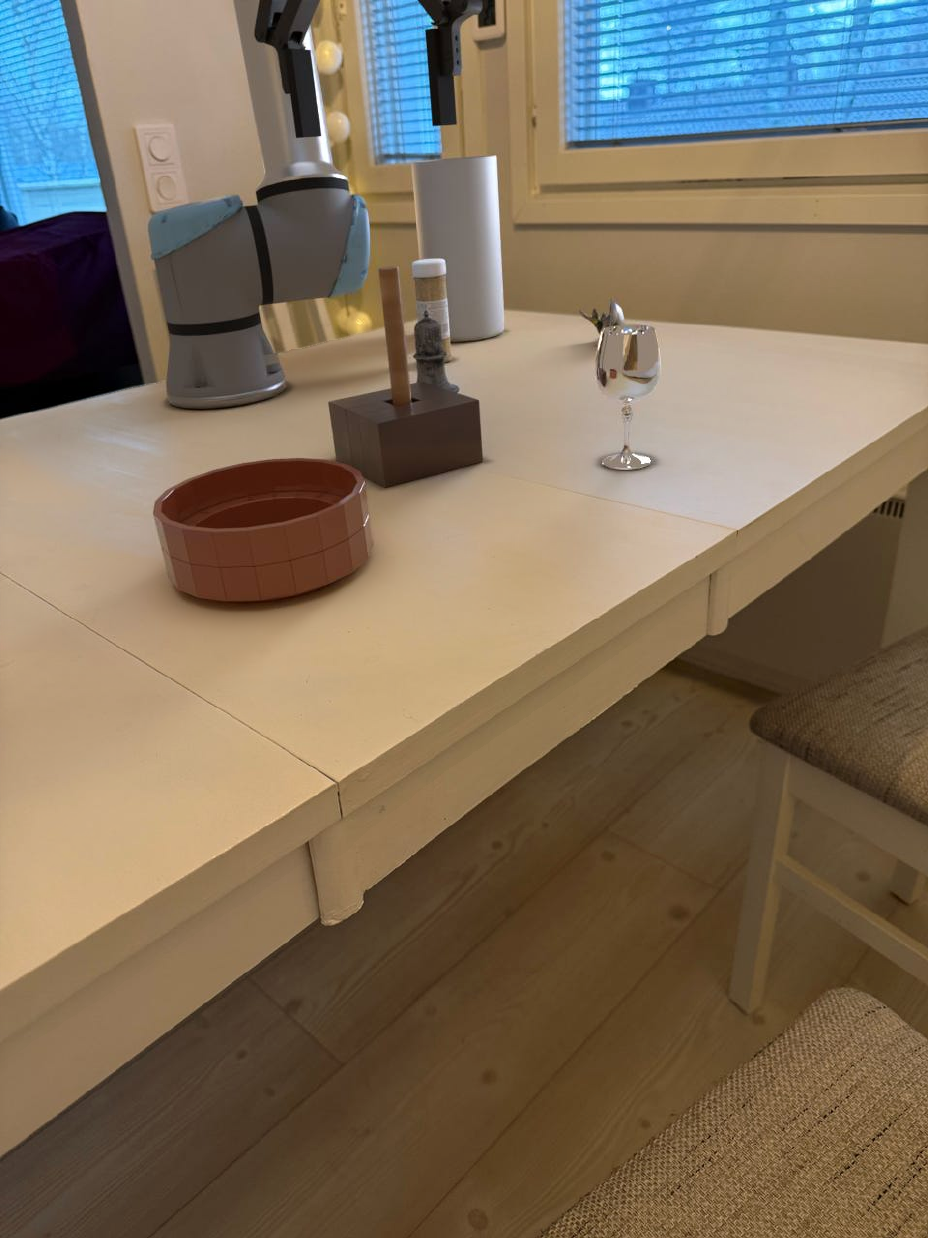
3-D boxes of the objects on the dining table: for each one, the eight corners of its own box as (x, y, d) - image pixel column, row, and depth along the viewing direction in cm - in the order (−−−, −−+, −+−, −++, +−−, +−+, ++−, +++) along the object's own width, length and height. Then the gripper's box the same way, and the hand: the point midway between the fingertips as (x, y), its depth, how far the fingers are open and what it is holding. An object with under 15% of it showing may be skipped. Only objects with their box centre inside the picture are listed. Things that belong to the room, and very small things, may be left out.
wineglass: (619, 476, 82) (620, 339, 76) (582, 460, 86) (581, 329, 81) (670, 463, 84) (675, 328, 78) (632, 448, 88) (634, 320, 83)
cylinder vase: (481, 344, 137) (470, 158, 126) (411, 341, 143) (394, 163, 132) (518, 327, 147) (511, 153, 135) (451, 325, 153) (438, 158, 141)
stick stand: (336, 460, 92) (327, 401, 89) (428, 438, 96) (422, 381, 94) (385, 487, 84) (377, 423, 81) (483, 461, 88) (479, 399, 85)
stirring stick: (395, 461, 90) (374, 268, 82) (411, 457, 91) (392, 265, 83) (404, 465, 89) (384, 269, 80) (420, 461, 90) (401, 266, 81)
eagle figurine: (567, 336, 132) (600, 333, 124) (586, 289, 132) (620, 283, 124) (608, 359, 136) (642, 357, 128) (627, 313, 135) (662, 309, 127)
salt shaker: (455, 429, 98) (447, 314, 93) (403, 430, 100) (391, 316, 94) (466, 414, 104) (458, 303, 98) (416, 415, 105) (406, 306, 99)
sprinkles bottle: (449, 356, 132) (441, 256, 125) (455, 362, 128) (448, 259, 121) (417, 359, 131) (408, 259, 125) (423, 366, 127) (414, 263, 121)
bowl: (148, 561, 72) (130, 489, 69) (324, 513, 79) (313, 445, 76) (208, 633, 61) (189, 550, 58) (408, 570, 67) (400, 492, 64)
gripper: (177, -172, 69) (230, 143, 79) (467, -258, 58) (486, 120, 68) (242, -152, 75) (284, 139, 85) (516, -227, 64) (528, 118, 74)
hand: (374, 131), depth 77 cm, fingers open, 13 cm apart
